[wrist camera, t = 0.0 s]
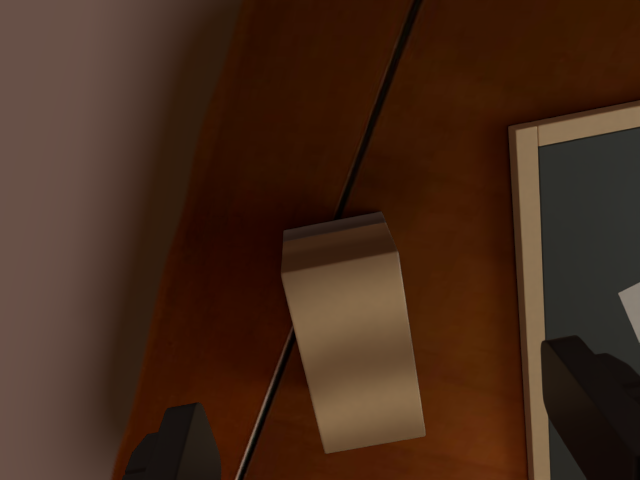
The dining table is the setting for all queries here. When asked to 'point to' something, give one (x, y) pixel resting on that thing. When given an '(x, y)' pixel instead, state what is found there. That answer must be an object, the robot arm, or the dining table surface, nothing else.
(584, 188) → the slate board
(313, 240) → the eraser
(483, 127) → the dining table surface
